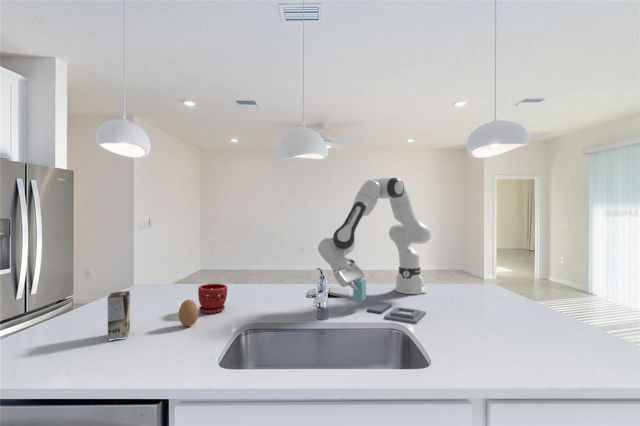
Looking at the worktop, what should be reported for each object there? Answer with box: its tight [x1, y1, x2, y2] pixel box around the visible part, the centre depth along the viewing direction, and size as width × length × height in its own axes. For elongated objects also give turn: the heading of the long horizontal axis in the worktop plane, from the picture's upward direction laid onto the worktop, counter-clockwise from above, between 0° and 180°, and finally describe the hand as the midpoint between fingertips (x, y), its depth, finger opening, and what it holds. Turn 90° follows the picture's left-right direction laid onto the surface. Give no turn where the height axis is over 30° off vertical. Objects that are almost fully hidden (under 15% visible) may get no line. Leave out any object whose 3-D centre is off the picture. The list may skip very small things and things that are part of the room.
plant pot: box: [197, 283, 228, 314], centre depth 163 cm, size 13×13×12 cm
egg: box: [178, 299, 199, 327], centre depth 142 cm, size 8×8×11 cm
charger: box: [352, 278, 367, 302], centre depth 164 cm, size 4×4×9 cm
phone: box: [366, 302, 393, 315], centre depth 165 cm, size 7×14×1 cm, turn 149°
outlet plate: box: [383, 306, 427, 325], centre depth 153 cm, size 16×14×2 cm
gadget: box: [307, 285, 350, 299], centre depth 195 cm, size 23×15×4 cm, turn 87°
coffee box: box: [107, 290, 131, 340], centre depth 130 cm, size 9×6×16 cm
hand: (360, 288), depth 163 cm, fingers closed on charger, 4 cm apart
